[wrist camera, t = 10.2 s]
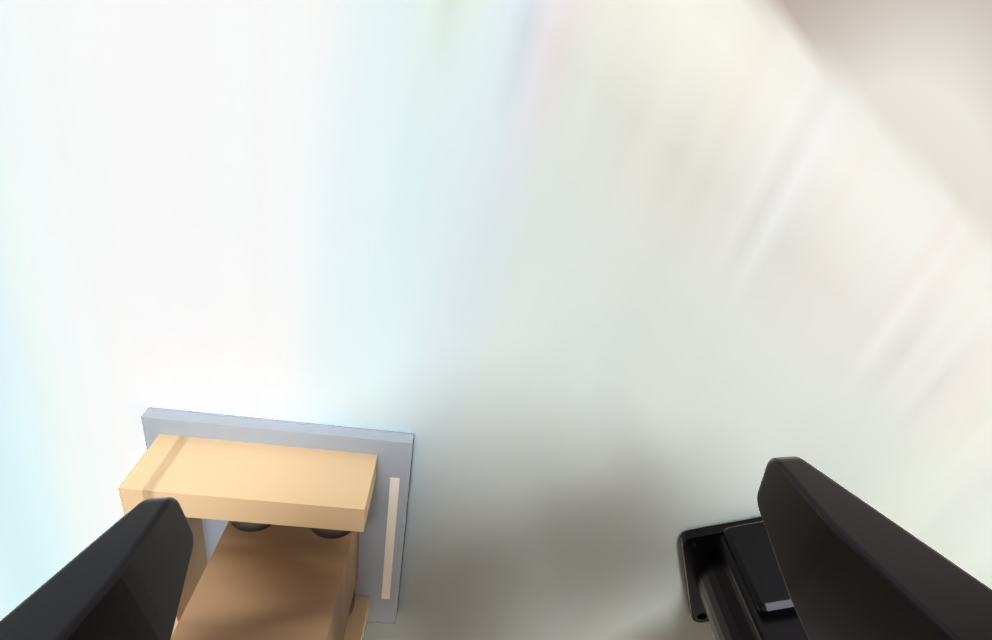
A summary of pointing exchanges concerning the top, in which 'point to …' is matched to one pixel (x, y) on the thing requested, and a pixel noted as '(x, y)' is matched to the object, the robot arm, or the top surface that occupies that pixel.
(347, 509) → the dock
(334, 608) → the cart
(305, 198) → the top surface
